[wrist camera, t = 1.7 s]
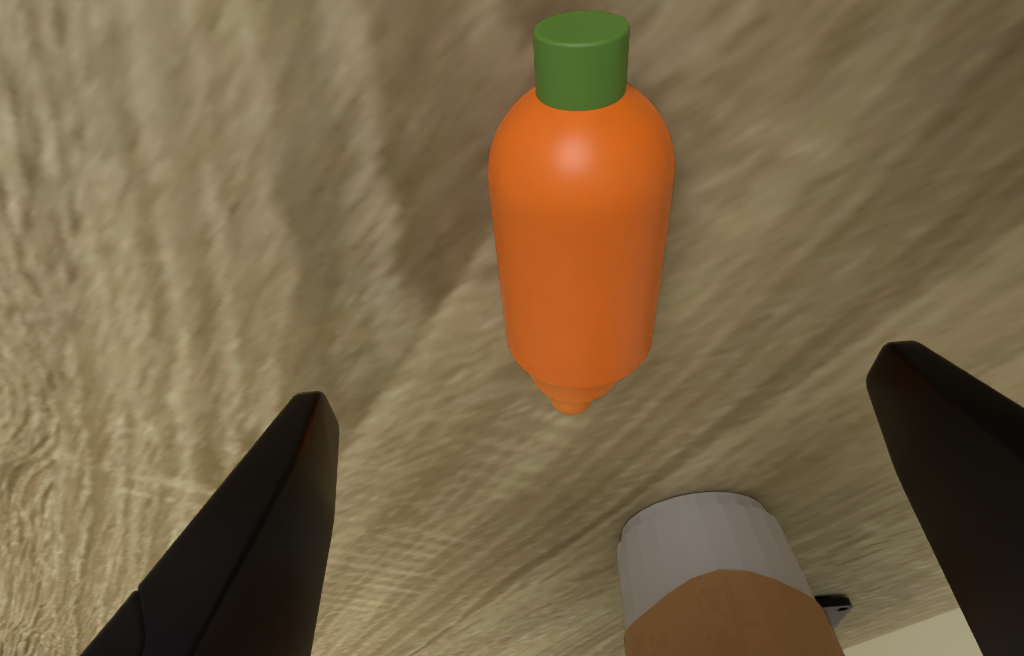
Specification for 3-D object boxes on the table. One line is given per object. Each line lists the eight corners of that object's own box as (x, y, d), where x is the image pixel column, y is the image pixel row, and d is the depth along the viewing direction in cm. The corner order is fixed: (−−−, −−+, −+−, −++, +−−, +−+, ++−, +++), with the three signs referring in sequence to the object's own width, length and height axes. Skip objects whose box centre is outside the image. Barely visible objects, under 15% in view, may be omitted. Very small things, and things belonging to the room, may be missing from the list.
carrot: (622, 382, 17) (652, 480, 15) (513, 397, 17) (525, 496, 15) (658, -19, 10) (730, 53, 7) (466, 3, 10) (478, 83, 7)
